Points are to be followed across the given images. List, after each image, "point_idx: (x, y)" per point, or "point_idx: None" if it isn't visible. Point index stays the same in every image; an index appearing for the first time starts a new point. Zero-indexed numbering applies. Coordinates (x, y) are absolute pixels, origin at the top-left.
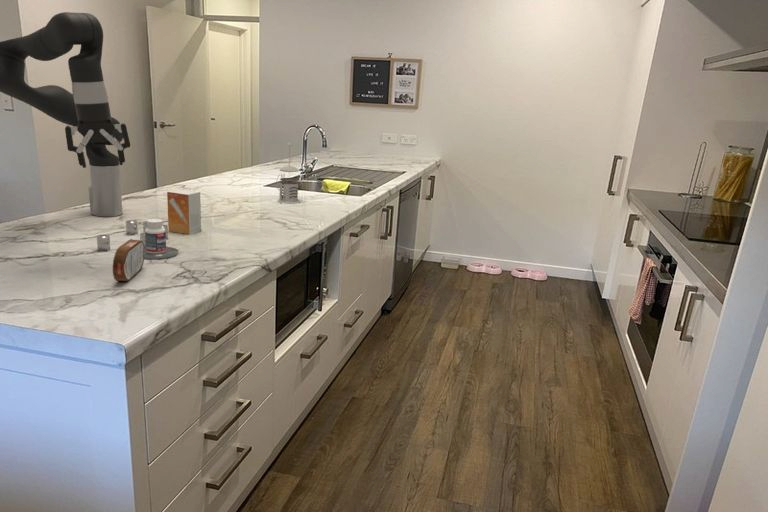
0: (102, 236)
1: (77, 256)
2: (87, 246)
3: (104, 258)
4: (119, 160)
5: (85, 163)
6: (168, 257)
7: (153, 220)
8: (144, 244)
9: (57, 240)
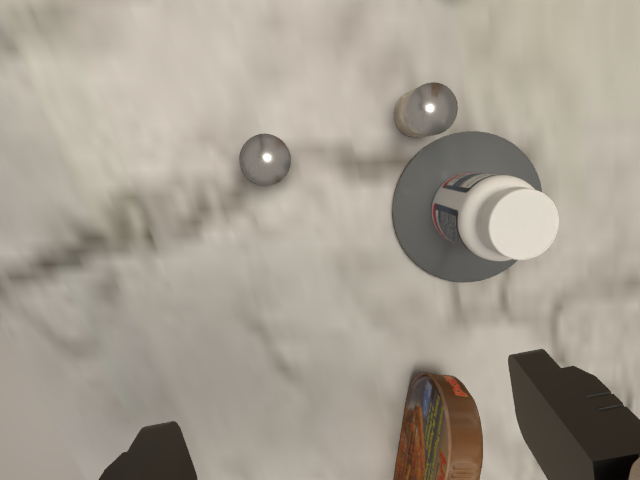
0: (264, 165)
1: (201, 247)
2: (191, 108)
3: (298, 269)
4: (545, 466)
5: (174, 471)
6: (510, 263)
7: (518, 224)
8: (416, 136)
9: (38, 11)
